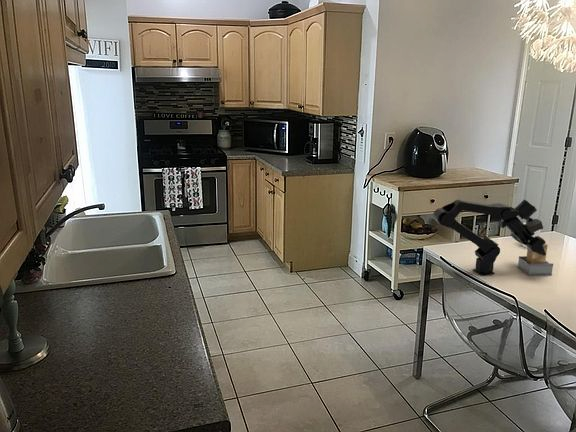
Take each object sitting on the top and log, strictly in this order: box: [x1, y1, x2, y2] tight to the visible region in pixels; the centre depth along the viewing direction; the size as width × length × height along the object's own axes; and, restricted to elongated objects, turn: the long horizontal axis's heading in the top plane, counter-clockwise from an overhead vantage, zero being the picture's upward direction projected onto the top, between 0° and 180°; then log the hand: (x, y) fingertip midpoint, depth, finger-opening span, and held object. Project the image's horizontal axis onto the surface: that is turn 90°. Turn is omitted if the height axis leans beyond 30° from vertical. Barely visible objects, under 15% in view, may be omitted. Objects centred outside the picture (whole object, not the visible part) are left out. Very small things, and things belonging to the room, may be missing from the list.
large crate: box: [517, 255, 554, 277], centre depth 207 cm, size 10×10×5 cm
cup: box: [521, 222, 542, 249], centre depth 237 cm, size 10×10×11 cm
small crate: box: [526, 241, 549, 264], centre depth 206 cm, size 6×6×12 cm
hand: (539, 251), depth 205 cm, fingers open, 9 cm apart
